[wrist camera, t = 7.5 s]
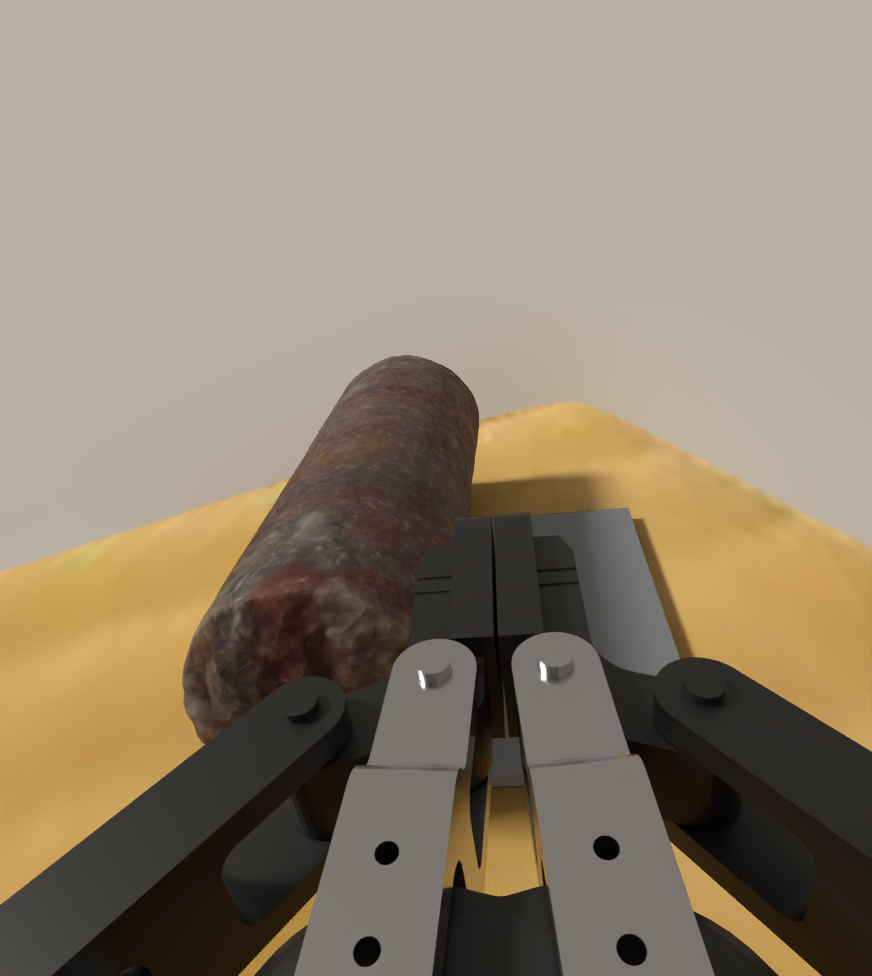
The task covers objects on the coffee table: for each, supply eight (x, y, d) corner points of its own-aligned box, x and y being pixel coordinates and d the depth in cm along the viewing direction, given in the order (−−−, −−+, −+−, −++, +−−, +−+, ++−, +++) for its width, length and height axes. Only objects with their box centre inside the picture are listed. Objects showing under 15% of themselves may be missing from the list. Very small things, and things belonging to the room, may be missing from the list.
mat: (344, 791, 21) (341, 778, 21) (396, 536, 33) (394, 525, 33) (715, 780, 20) (717, 766, 19) (628, 518, 32) (628, 507, 32)
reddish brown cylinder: (499, 685, 16) (504, 388, 34) (209, 565, 15) (367, 323, 33) (378, 852, 20) (439, 506, 37) (137, 763, 19) (314, 450, 36)
